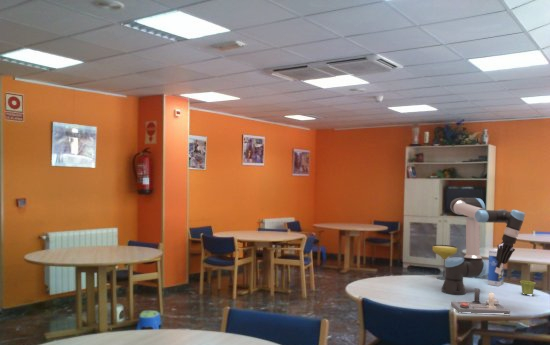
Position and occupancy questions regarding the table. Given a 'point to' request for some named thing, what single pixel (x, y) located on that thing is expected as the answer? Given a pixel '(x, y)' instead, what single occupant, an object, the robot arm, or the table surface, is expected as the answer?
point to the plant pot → (527, 287)
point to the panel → (478, 307)
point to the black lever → (476, 296)
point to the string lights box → (492, 275)
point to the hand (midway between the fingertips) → (497, 272)
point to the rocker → (494, 301)
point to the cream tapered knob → (491, 301)
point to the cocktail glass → (444, 254)
